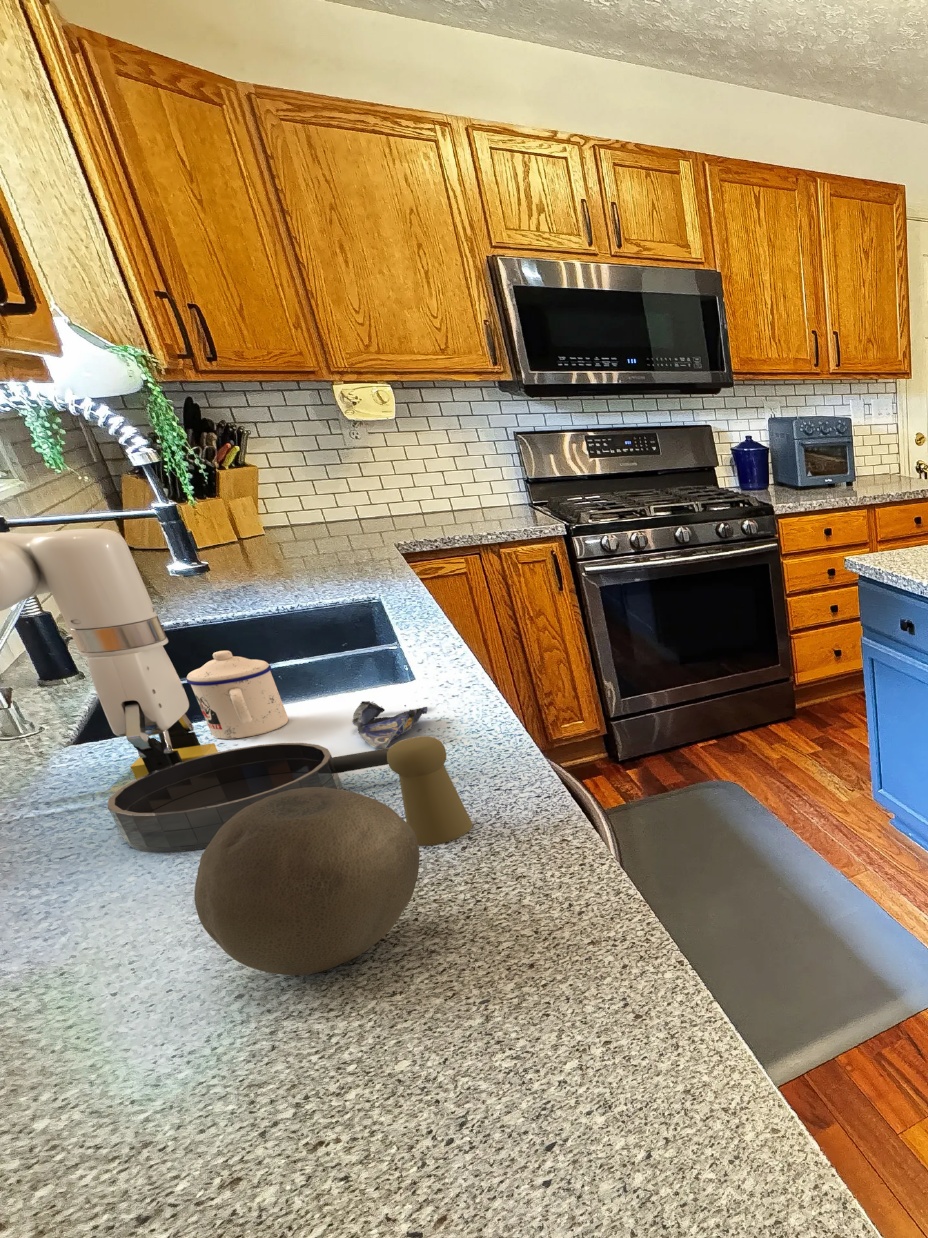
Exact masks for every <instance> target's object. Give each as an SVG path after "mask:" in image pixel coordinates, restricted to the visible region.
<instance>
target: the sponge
mask: <svg viewBox="0 0 928 1238" xmlns="http://www.w3.org/2000/svg"><path fill="white" fill-rule="evenodd" d="M176 750H178V753H179V755H180V757H181V759H182V762H183V761H186V760H190V759H194V758H197V757H201V756H204V755H209V754H213V753H218V752H219V750H218V748H217V746H216V744H215V742H213V743H212V742H211V743H205V744H200V745H199V746H192V747H185V748H179V749H173V751H176ZM129 767H130V769H131V772H132V774H133V777H134V778H135V780H136V779H138V778H140V777H142V776H145V775H147V774H149V773H148V770H147V768H146V766H145V764H144V762H143V760H142V758H141V757H140V756H139V757H138V758H137V759H136V760H135V761H134V762H133V763H132V764H131V765H130V766H129Z"/></svg>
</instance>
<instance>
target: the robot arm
mask: <svg viewBox="0 0 928 1238" xmlns="http://www.w3.org/2000/svg"><path fill="white" fill-rule="evenodd" d="M49 593H51V596H52V597H53V599H54V602H55V604H56V606H57V609H58V610H59V612H60V615H61V616H62V618H63V620H64V623H65V625H66V627H67V628H68V631H69V633H70V635H71V637H72V639H73V641H74V644H75V646H76V648H77V650H78V653H79V655H80V656H81V657H85V658H86V661H87V666H88V670H89V673H90V678H91V680H92V683H93V687H94V688H95V692H96V695H97V697H98V700H99V702H100V705H101V707H102V710H103V712H104V715H105V717H106V720H107V722H108V724H109V727H110V729H111V731H112V733H113V734H114V735H115V736H116V737H119V738H122V737H126V741H127V742H128V743H130V744H132V746H133V748H134V749H136V750H137V754H138V756H139V758H140V757H141V758H142V760H143V762H144V764H145V766H146V768H147V770H148V773H152V772H154V771H156V770H159V769H162V768H165V767H168V766H171V765H174V764H177V763H179V762H182V759H181V757H180V755H179V753H178V750H176V751H173V749H179V748H185V747H192V746H199V745H201V743H200V741H199V738H198V736H197V734H196V731H194V730H195V729H194V726H193V723H192V722H191V721H190V719H189V717H188V716H189V713H188V710H189V708H190V701H189V699H188V696H187V693H186V691H185V688H184V686H183V683H182V681H181V679H180V677H179V675H178V674H179V673H177V670H176V668H175V666H174V665H173V662H172V661H171V659H170V657H169V655H168V653H167V651H166V649H165V647H164V646H165V645H167V644H168V643H169V639H168V637H167V635H166V633H165V630H164V628H163V625H162V623H161V621H160V619H159V616H158V614H157V611H156V609H155V606H154V605H153V602H152V600H151V598H150V594H149V593H148V590H147V587H146V585H145V583H144V581H143V578H142V576H141V574H140V571H139V569H138V566H137V565H136V562H135V559H134V558H133V555H132V553H131V550H130V547H129V546H128V544H127V542H126V540H125V538H124V537H123V535H121V534H120V533H119V532H117V531H114V530H113V529H107V528H75V529H65V530H64V529H63V530H54V531H49V532H44V533H43V532H42V533H41V532H40V533H34V532H33V533H32V532H31V533H29V532H28V533H27V532H0V612H2V611H4V610H7V609H9V608H11V607H13V606H15V605H17V604H19V603H21V601H25V600H28V599H30V598H33V597H35V596H39V595H43V594H49ZM155 725H156V727H155V728H152V729H146V727H148V726H155ZM151 736H158V737H159V740H158V739H156V738H155V737H151Z"/></svg>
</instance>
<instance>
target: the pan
mask: <svg viewBox="0 0 928 1238" xmlns="http://www.w3.org/2000/svg"><path fill="white" fill-rule="evenodd" d="M330 758H332V754H331V752H330V750H329V749H328V748H326V747H325V746H322V745H319V744H315V743H307V742H277V743H266V744H258V745H251V746H245V747H238V748H233V749H232V748H231V749H227V750H223V751H218V753H213V754H209V755H204V756H201V757H197V758H194V759H190V760H186V761H183V762H179V763H177V764H174V765H171V766H168V767H165V768H162V769H159V770H156V771H154V772H152V773H149V774H147V775H145V776H142V777H140V778H138V779H136V778H135V779H133V780H132V781H130V782H129V783H127V784H125V785H123V786H121V787H120V788H118V789H117V790H116V791H115V792H114V793H112V795H111V796H109V798H108V799H107V809H108V811H109V813H110V815H111V817H112V819H113V821H114V823H115V826H116V827H117V829H118V832H119V833H120V835H121V837H122V839H123V840H124V841H125V843H126V844H127V845H128V846H129V847H130V848H132V849H134V850H138V851H142V852H148V853H179V852H188V851H189V852H190V851H196V850H197V851H198V850H205V849H206V848H207V846H208V845H209V843H210V842H211V841H212V839H213V838H214V836H215V835H216V833H217V832H218V830H219V829H220V828H221V827H222V826H223V825H224V824H225V823H226V822H227V821H228V820H229V819H231V818H232V817H233V816H234V815H235V814H237V813H238V812H239V811H241V810H242V809H243V808H245V807H247V806H249V805H251V804H253V803H255V802H258V801H260V800H262V799H264V798H266V797H269V796H271V795H275V794H277V793H280V792H284V791H287V790H291V789H298V788H306V787H325V788H332V789H339V790H343V786H342V781H341V778H340V775H339V773H333V772H332V771H331V769H330V765H329V759H330Z"/></svg>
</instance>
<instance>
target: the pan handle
mask: <svg viewBox="0 0 928 1238" xmlns="http://www.w3.org/2000/svg"><path fill="white" fill-rule="evenodd" d="M385 748H386V749H381V748H379V749H375V750H368V751H361V752H355V753H349V754H345V755H339V756H333V757H332V758H330V759H329V765H330V769H331V771H332V772H333V773H338V774H341V773H346V772H353V771H359V770H364V769H370V768H371V769H372V768H376V767H382V766H389V764H388V762H387V752H388V750H389V748H390V747H385Z"/></svg>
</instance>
